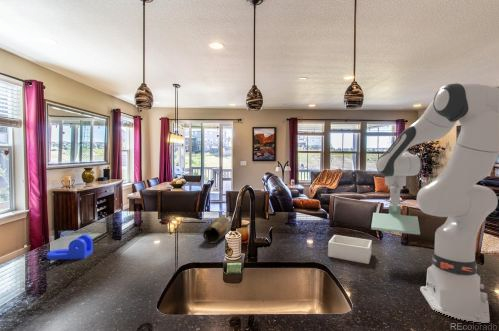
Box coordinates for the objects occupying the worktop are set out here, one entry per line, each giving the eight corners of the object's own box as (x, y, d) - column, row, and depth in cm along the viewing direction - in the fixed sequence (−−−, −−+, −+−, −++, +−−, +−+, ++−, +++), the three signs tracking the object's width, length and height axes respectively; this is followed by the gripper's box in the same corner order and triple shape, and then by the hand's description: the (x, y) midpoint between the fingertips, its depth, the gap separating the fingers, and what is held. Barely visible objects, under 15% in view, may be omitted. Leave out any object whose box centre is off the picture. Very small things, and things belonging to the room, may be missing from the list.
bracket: (92, 252, 133) (92, 234, 133) (84, 258, 125) (84, 239, 124) (53, 253, 131) (53, 235, 131) (42, 260, 123) (42, 240, 122)
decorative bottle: (223, 239, 145) (243, 219, 189) (213, 222, 146) (236, 206, 190) (206, 248, 147) (230, 226, 191) (197, 230, 148) (223, 213, 192)
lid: (419, 236, 113) (420, 225, 111) (371, 230, 122) (371, 220, 120) (417, 216, 128) (417, 206, 126) (373, 212, 136) (373, 203, 135)
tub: (368, 263, 122) (369, 248, 121) (328, 256, 130) (328, 242, 130) (371, 254, 134) (371, 240, 134) (334, 248, 142) (334, 234, 142)
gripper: (403, 183, 119) (403, 214, 120) (402, 180, 137) (401, 207, 138) (387, 182, 122) (387, 213, 123) (388, 180, 140) (387, 206, 141)
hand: (394, 210), depth 130 cm, fingers closed on lid
